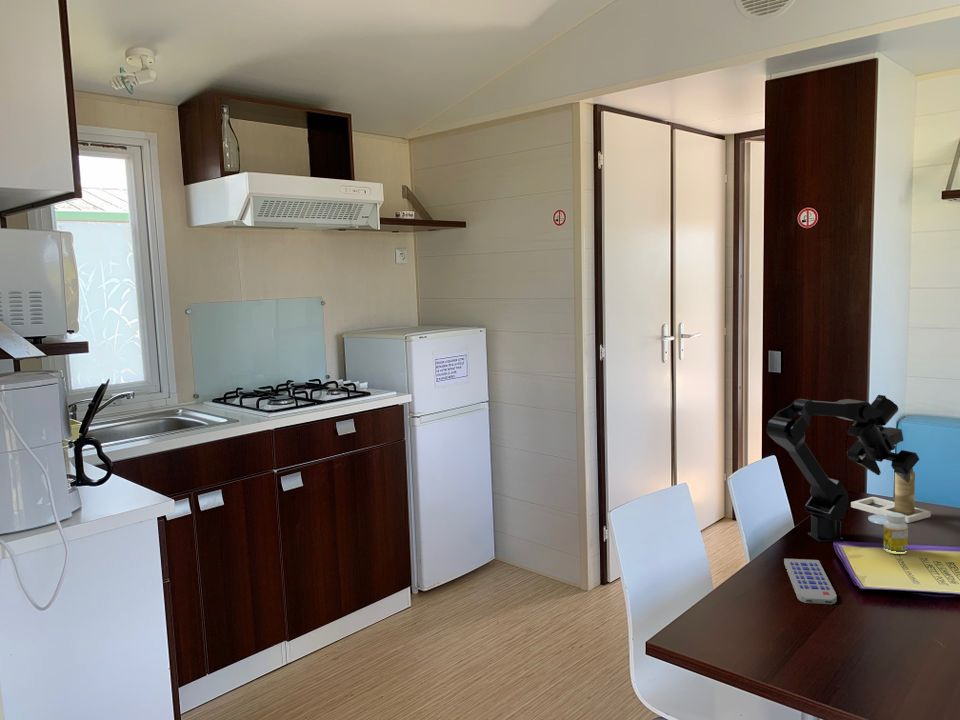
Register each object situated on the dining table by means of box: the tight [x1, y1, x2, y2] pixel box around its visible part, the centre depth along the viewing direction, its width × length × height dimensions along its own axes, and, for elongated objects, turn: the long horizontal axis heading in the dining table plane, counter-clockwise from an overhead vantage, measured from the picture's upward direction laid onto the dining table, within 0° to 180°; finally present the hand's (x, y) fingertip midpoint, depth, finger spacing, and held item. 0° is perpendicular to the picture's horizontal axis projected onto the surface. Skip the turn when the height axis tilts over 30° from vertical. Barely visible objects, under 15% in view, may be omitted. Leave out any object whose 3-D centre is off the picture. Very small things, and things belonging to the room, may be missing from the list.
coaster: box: [867, 514, 906, 526], centre depth 211 cm, size 9×9×1 cm
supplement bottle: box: [883, 512, 909, 552], centre depth 188 cm, size 5×5×10 cm
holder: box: [850, 496, 932, 524], centre depth 218 cm, size 10×18×2 cm, turn 26°
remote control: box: [783, 558, 838, 605], centre depth 172 cm, size 8×23×2 cm, turn 165°
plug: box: [894, 467, 916, 516], centre depth 214 cm, size 5×5×14 cm
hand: (893, 477), depth 208 cm, fingers open, 9 cm apart
